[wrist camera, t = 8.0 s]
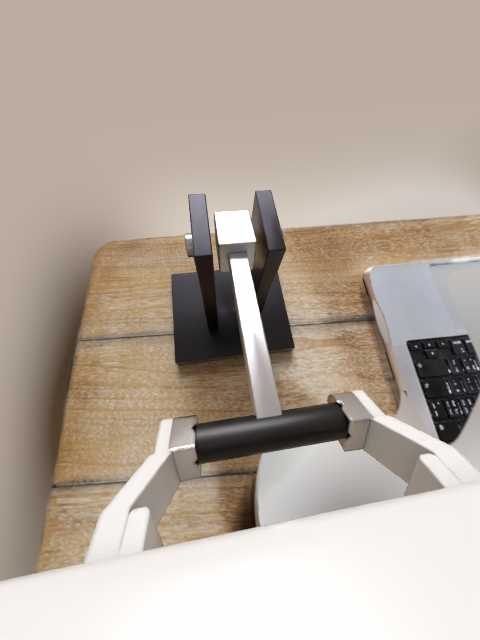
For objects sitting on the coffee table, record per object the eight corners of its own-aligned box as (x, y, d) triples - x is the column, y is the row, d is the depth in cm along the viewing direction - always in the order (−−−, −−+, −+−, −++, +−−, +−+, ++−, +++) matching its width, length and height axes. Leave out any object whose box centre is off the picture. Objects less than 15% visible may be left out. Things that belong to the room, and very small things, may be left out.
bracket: (291, 350, 25) (363, 288, 12) (177, 365, 24) (121, 313, 11) (273, 270, 28) (314, 155, 15) (173, 279, 27) (127, 163, 14)
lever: (333, 439, 11) (359, 437, 9) (201, 462, 10) (194, 466, 8) (272, 237, 17) (278, 208, 15) (188, 244, 16) (182, 213, 14)
